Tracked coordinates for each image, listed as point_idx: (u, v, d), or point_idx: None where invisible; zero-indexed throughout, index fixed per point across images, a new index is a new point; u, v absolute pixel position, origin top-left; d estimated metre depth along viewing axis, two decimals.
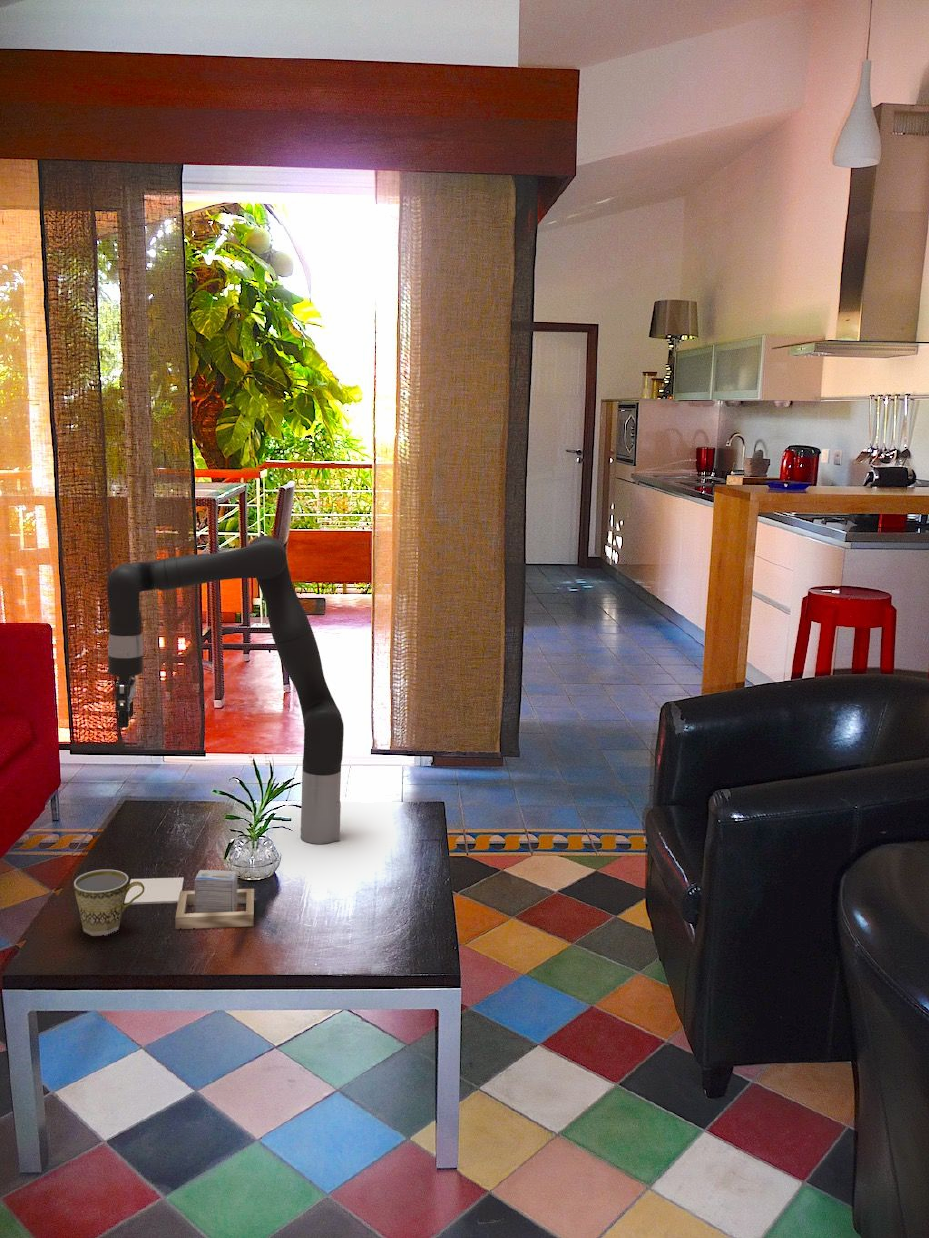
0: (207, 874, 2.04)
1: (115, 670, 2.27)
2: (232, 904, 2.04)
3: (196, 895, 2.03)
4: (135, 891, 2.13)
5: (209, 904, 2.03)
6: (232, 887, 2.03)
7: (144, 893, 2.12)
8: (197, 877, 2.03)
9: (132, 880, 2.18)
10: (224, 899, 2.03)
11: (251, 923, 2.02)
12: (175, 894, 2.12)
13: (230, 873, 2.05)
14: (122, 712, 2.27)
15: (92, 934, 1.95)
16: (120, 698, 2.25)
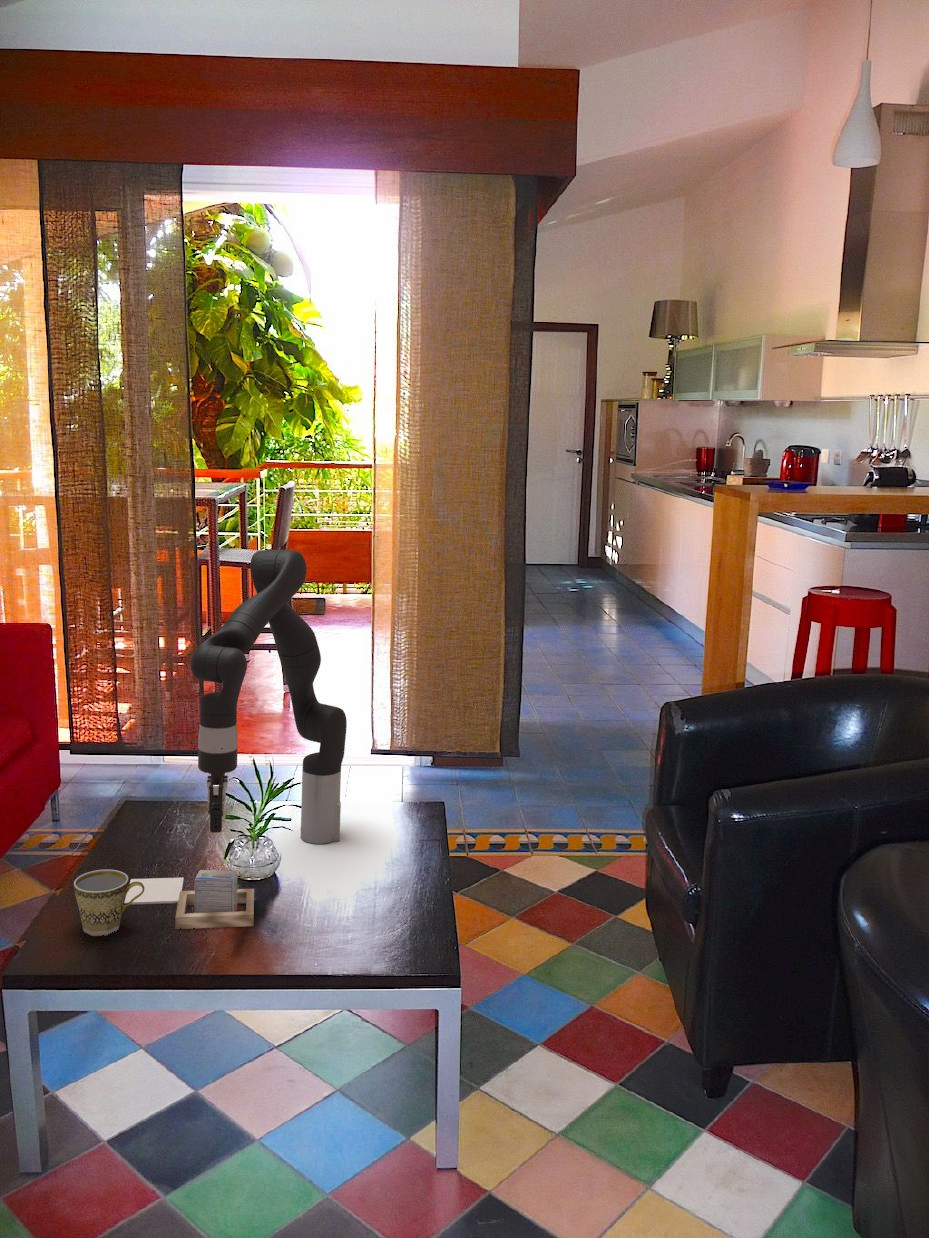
0: (207, 874, 2.04)
1: (207, 767, 1.97)
2: (232, 904, 2.04)
3: (196, 895, 2.03)
4: (135, 891, 2.13)
5: (209, 904, 2.03)
6: (232, 887, 2.03)
7: (144, 893, 2.12)
8: (197, 877, 2.03)
9: (132, 880, 2.18)
10: (224, 899, 2.03)
11: (251, 923, 2.02)
12: (175, 894, 2.12)
13: (230, 873, 2.05)
14: (215, 815, 1.97)
15: (92, 934, 1.95)
16: (214, 800, 1.94)
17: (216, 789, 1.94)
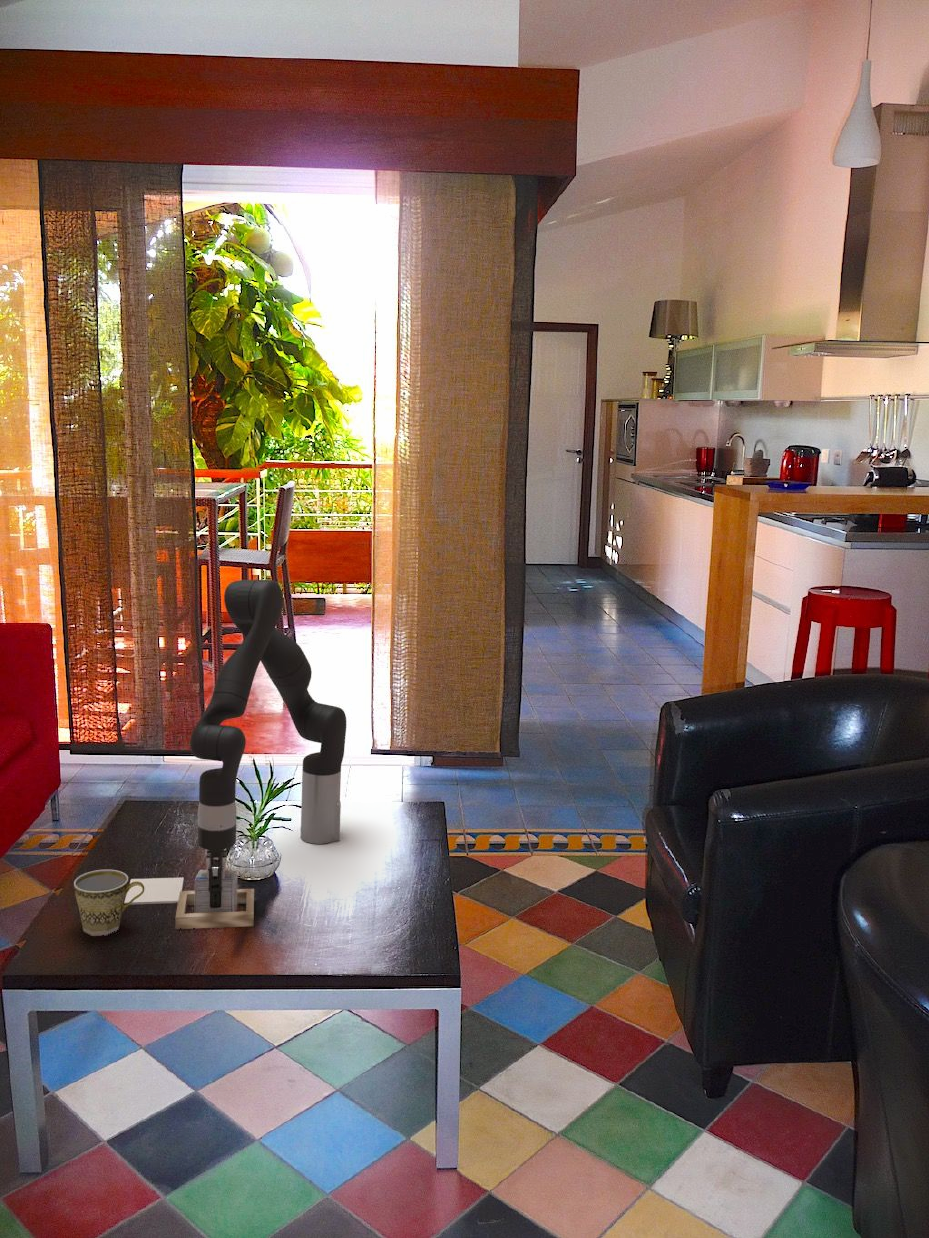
0: None
1: (206, 843, 1.99)
2: (232, 904, 2.04)
3: (196, 895, 2.03)
4: (135, 891, 2.13)
5: (209, 904, 2.03)
6: (232, 887, 2.03)
7: (144, 893, 2.12)
8: (197, 877, 2.03)
9: (132, 880, 2.18)
10: (224, 899, 2.03)
11: (251, 923, 2.02)
12: (175, 894, 2.12)
13: (230, 873, 2.05)
14: (215, 892, 2.01)
15: (92, 934, 1.95)
16: (213, 881, 1.98)
17: (215, 872, 1.97)
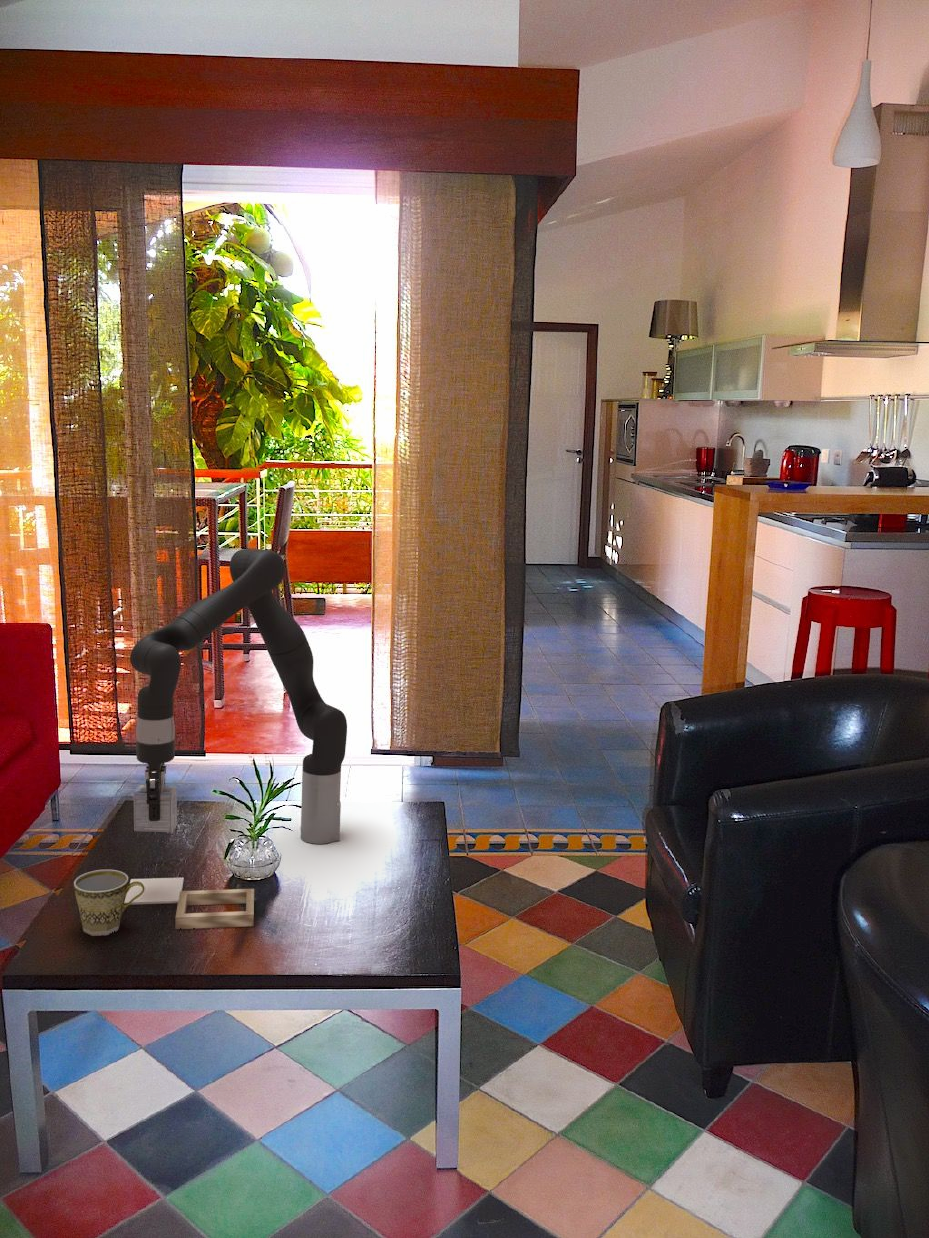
0: None
1: (145, 757, 2.05)
2: (171, 817, 2.09)
3: (135, 808, 2.08)
4: (135, 891, 2.13)
5: (148, 817, 2.09)
6: (170, 800, 2.08)
7: (144, 893, 2.12)
8: (136, 791, 2.08)
9: (132, 880, 2.18)
10: (163, 812, 2.09)
11: (251, 923, 2.02)
12: (175, 894, 2.12)
13: (169, 788, 2.11)
14: (153, 805, 2.06)
15: (92, 934, 1.95)
16: (151, 793, 2.04)
17: (153, 783, 2.03)
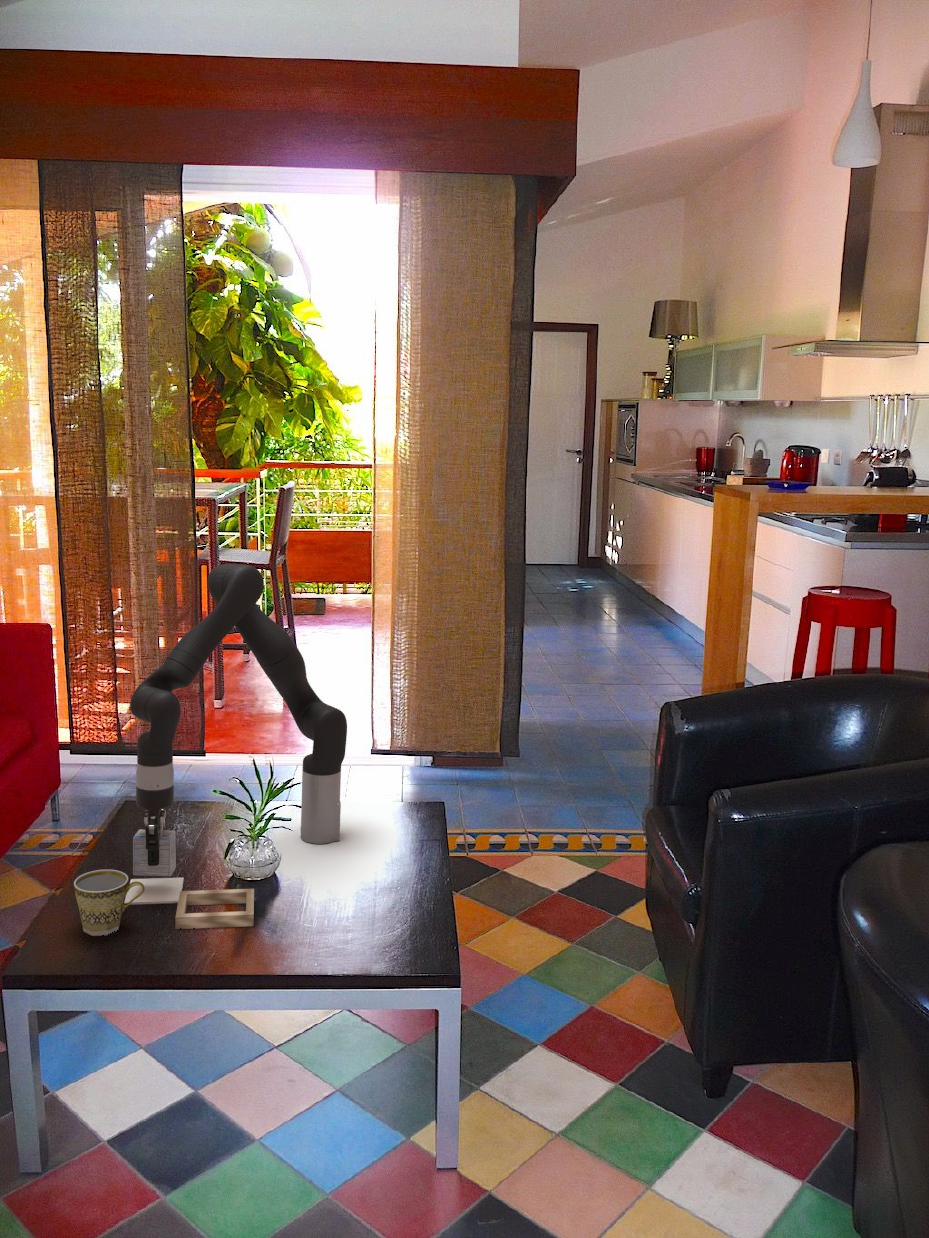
0: None
1: (144, 803, 2.07)
2: (169, 862, 2.11)
3: (135, 853, 2.10)
4: (135, 891, 2.13)
5: (147, 862, 2.11)
6: (169, 845, 2.10)
7: (144, 893, 2.12)
8: (136, 835, 2.10)
9: (132, 880, 2.18)
10: (161, 857, 2.10)
11: (251, 923, 2.02)
12: (175, 894, 2.12)
13: (168, 832, 2.13)
14: (152, 850, 2.08)
15: (92, 934, 1.95)
16: (150, 838, 2.06)
17: (152, 829, 2.05)
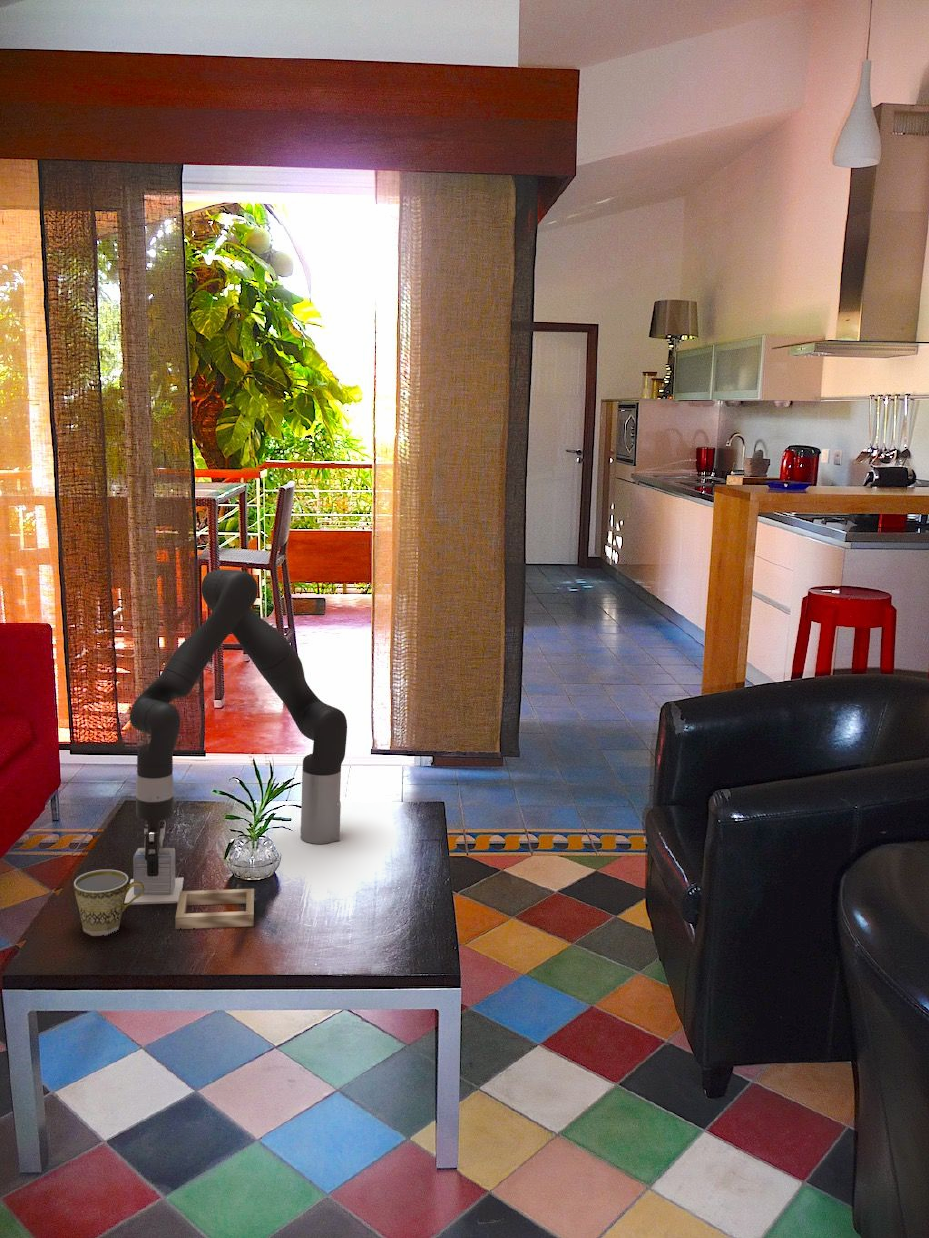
0: None
1: (144, 814, 2.07)
2: (171, 879, 2.11)
3: (135, 872, 2.10)
4: None
5: (148, 880, 2.11)
6: (170, 863, 2.11)
7: None
8: (136, 854, 2.10)
9: (132, 880, 2.18)
10: (162, 875, 2.11)
11: (251, 923, 2.02)
12: (175, 894, 2.12)
13: (168, 850, 2.13)
14: (151, 861, 2.07)
15: (92, 934, 1.95)
16: (150, 847, 2.05)
17: (152, 836, 2.05)
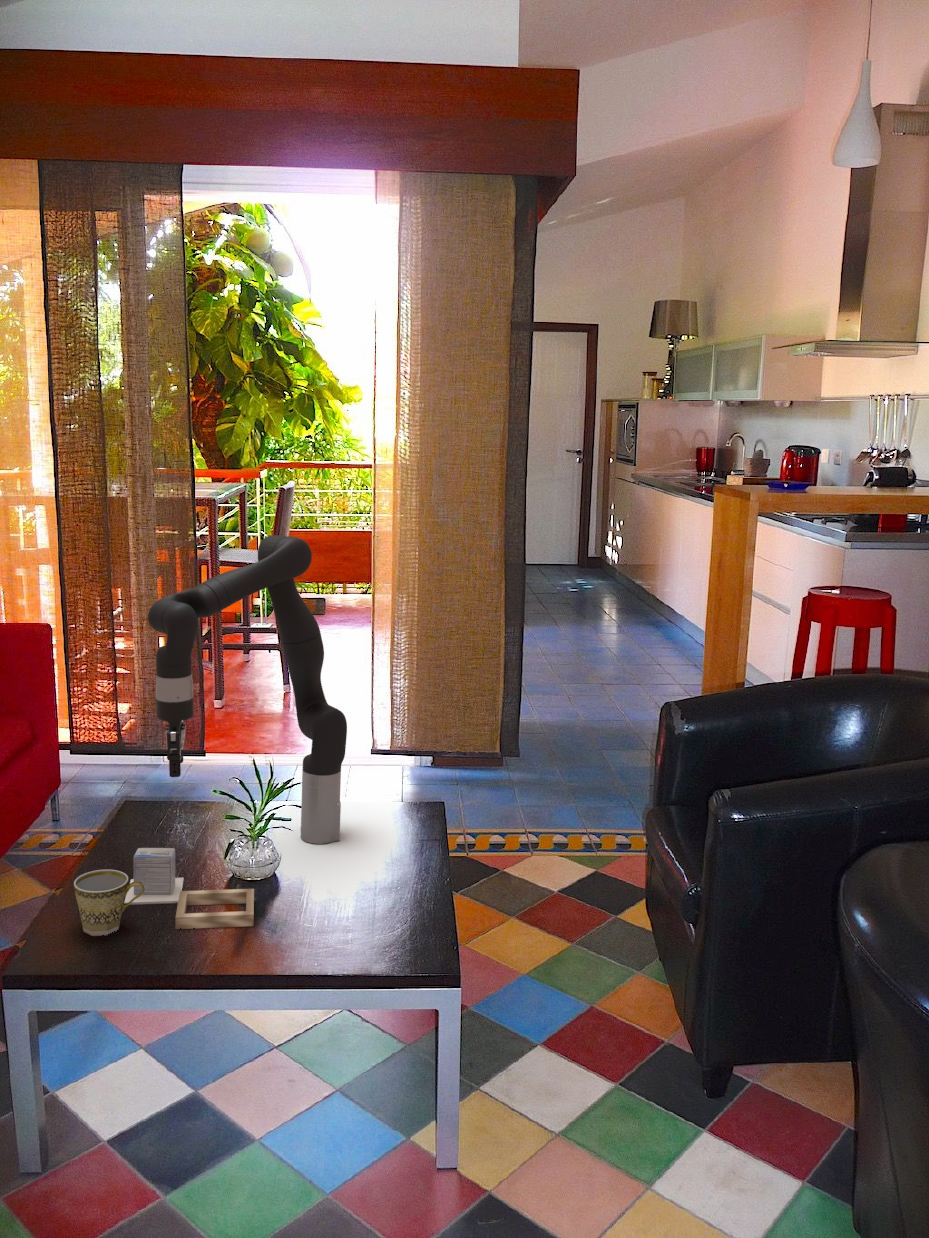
0: (146, 851, 2.12)
1: (165, 715, 2.08)
2: (171, 879, 2.11)
3: (135, 872, 2.10)
4: None
5: (148, 880, 2.11)
6: (170, 863, 2.11)
7: None
8: (136, 854, 2.10)
9: (132, 880, 2.18)
10: (162, 875, 2.11)
11: (251, 923, 2.02)
12: (175, 894, 2.12)
13: (168, 850, 2.13)
14: (174, 761, 2.08)
15: (92, 934, 1.95)
16: (171, 746, 2.06)
17: (173, 735, 2.05)
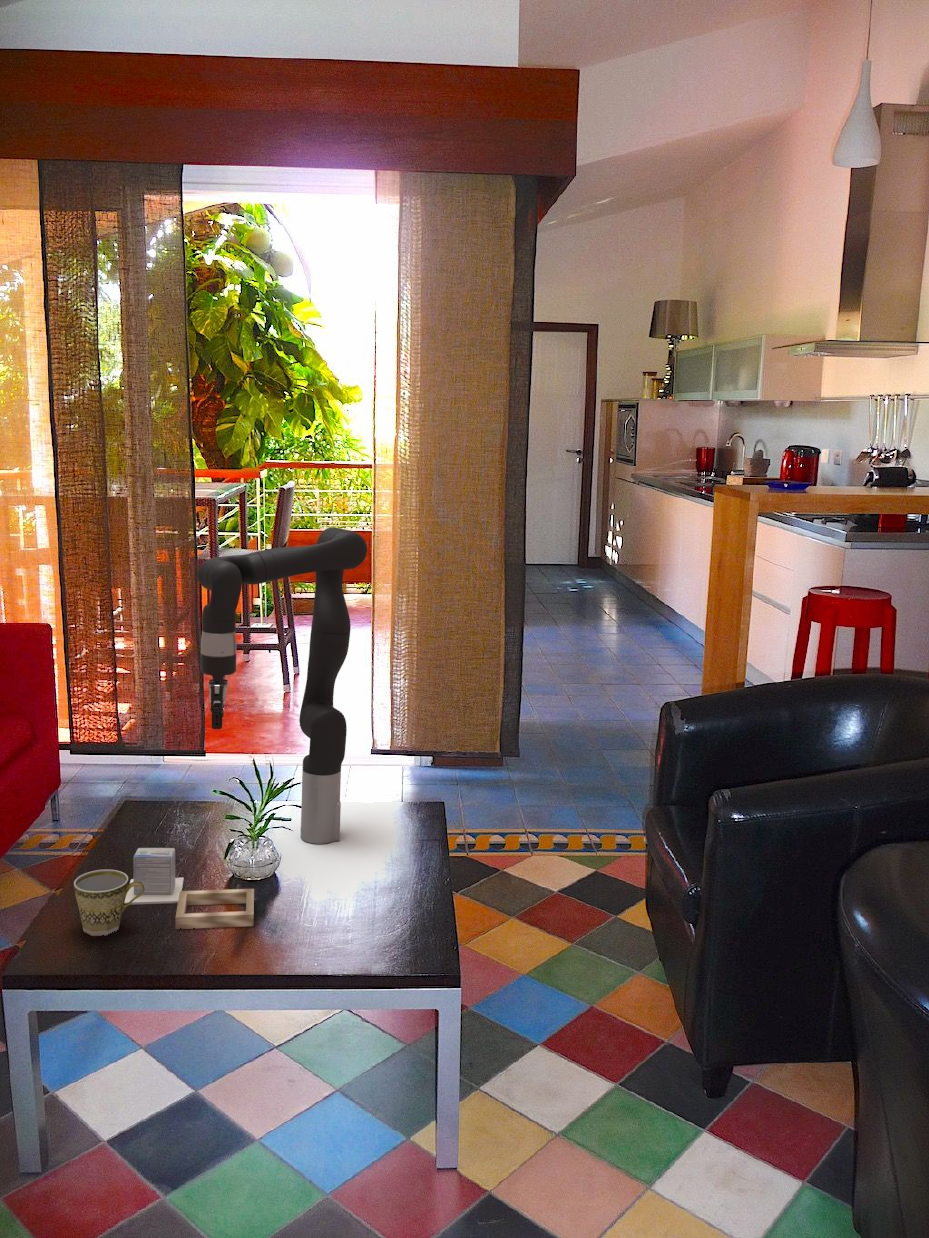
0: (146, 851, 2.12)
1: (209, 669, 2.17)
2: (171, 879, 2.11)
3: (135, 872, 2.10)
4: None
5: (148, 880, 2.11)
6: (170, 863, 2.11)
7: None
8: (136, 854, 2.10)
9: (132, 880, 2.18)
10: (162, 875, 2.11)
11: (251, 923, 2.02)
12: (175, 894, 2.12)
13: (168, 850, 2.13)
14: (216, 713, 2.17)
15: (92, 934, 1.95)
16: (215, 698, 2.15)
17: (217, 688, 2.15)
